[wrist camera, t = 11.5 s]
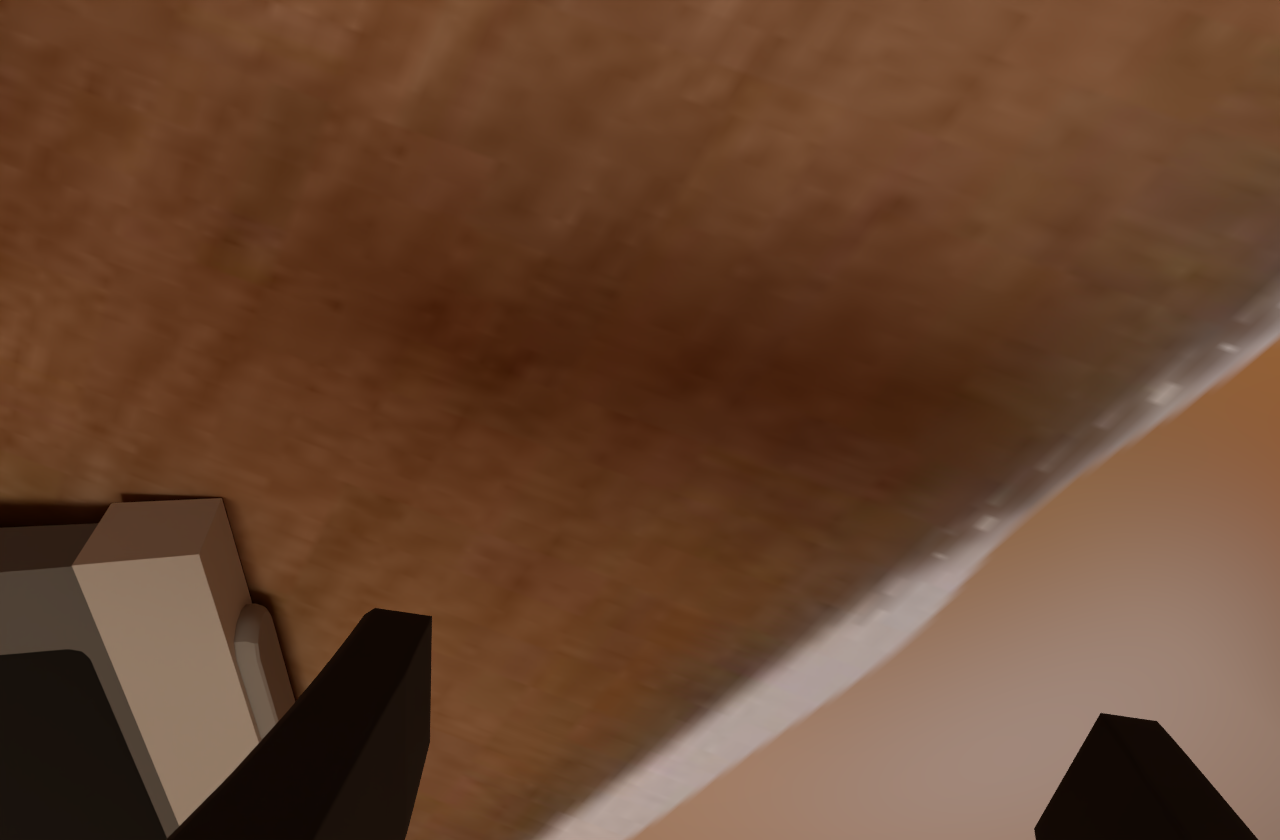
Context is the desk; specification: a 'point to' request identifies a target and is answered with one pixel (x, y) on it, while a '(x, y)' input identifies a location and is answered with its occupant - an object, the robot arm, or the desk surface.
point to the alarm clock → (128, 671)
